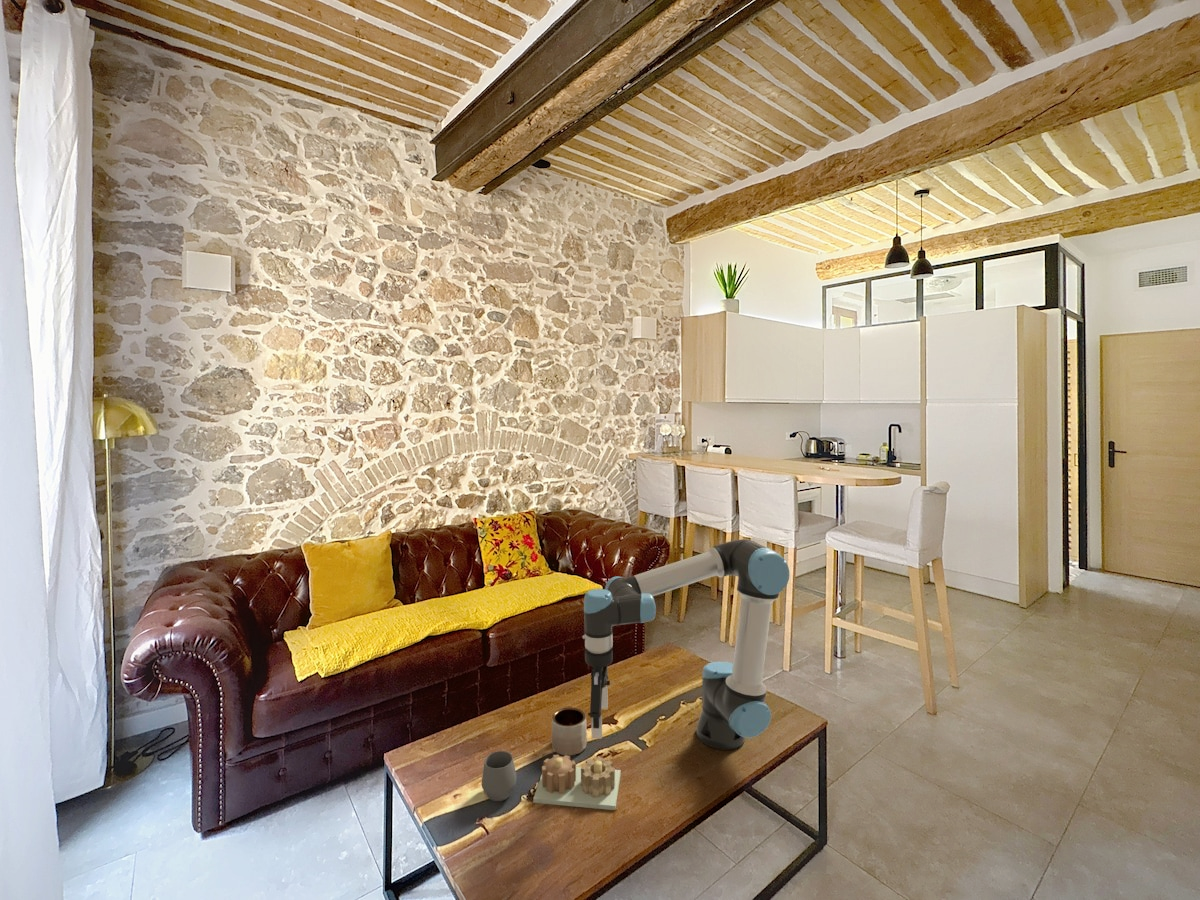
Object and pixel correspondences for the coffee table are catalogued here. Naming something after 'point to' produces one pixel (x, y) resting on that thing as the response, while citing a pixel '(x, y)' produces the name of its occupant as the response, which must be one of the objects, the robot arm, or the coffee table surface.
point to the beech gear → (598, 778)
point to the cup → (499, 775)
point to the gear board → (571, 785)
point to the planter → (569, 731)
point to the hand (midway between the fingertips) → (600, 722)
